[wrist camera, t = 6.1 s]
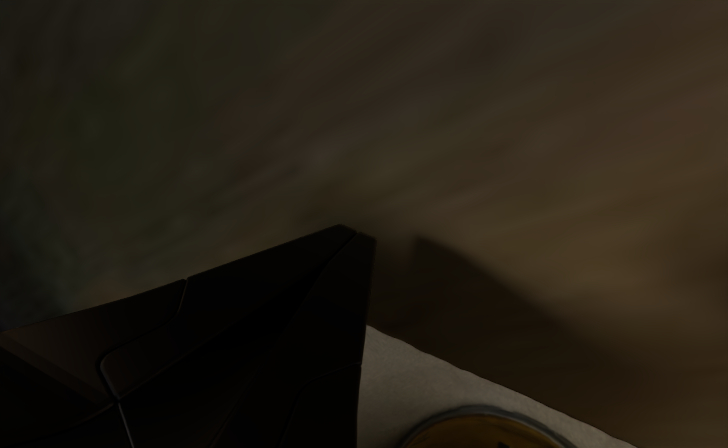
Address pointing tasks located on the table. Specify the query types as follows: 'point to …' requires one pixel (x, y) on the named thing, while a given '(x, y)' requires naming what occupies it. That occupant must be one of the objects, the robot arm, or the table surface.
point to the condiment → (453, 407)
